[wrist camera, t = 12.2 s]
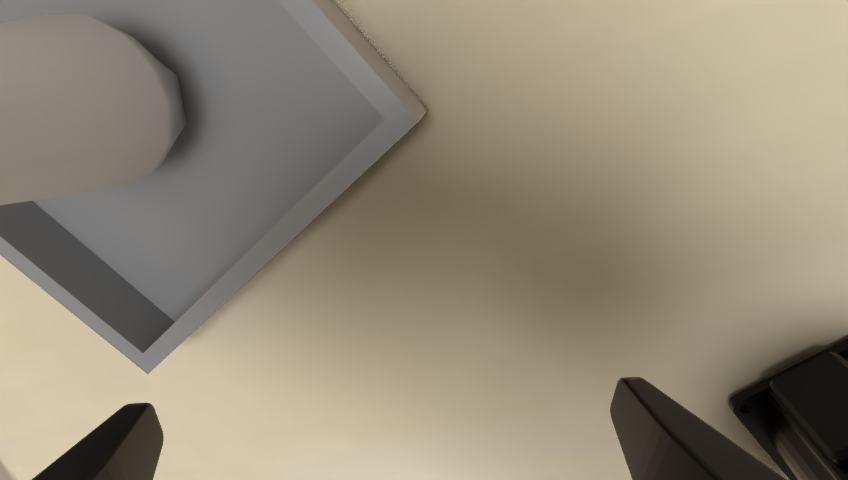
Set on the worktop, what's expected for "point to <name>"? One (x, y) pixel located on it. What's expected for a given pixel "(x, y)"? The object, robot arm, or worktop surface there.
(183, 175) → the tray
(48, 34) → the salt shaker
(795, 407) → the robot arm
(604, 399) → the worktop surface
